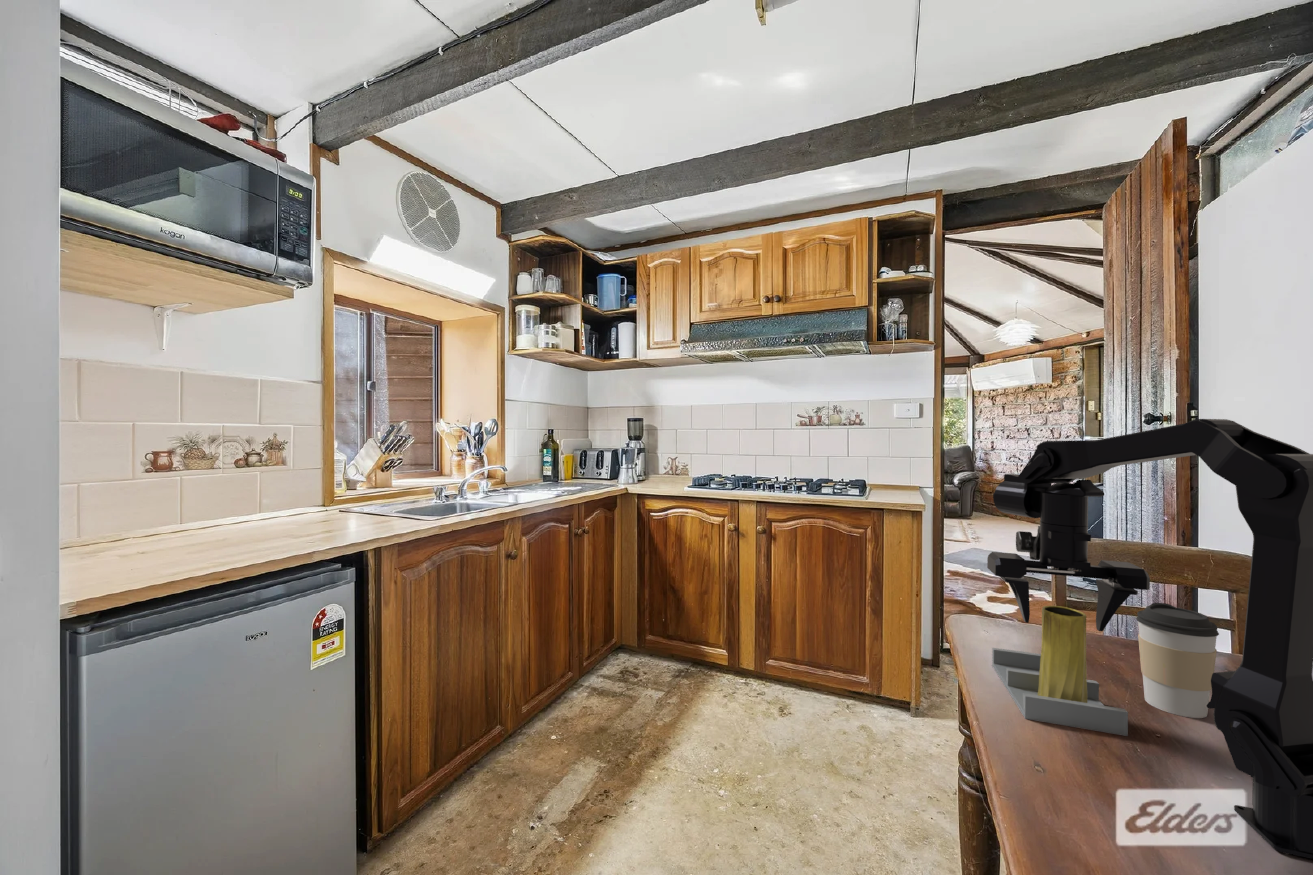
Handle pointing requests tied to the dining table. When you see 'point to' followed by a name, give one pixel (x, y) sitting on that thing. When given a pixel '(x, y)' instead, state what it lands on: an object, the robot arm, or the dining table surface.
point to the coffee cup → (1177, 658)
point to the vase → (1063, 654)
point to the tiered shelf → (1023, 687)
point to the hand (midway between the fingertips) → (1062, 626)
